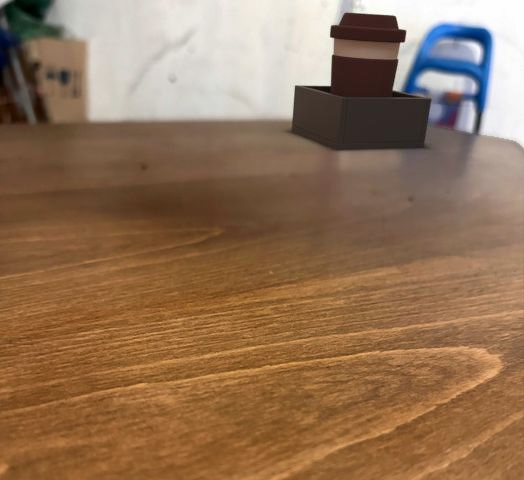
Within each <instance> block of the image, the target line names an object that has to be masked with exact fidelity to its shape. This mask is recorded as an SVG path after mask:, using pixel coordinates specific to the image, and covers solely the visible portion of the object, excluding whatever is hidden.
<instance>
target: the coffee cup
mask: <svg viewBox="0 0 524 480" xmlns="http://www.w3.org/2000/svg"><path fill="white" fill-rule="evenodd" d="M329 30H330V31H329V38H331V39H333V53H332V54H331V66H330V67H331V68H330V69H331V70H330V86H331V93H330V94H334V95H338V96H342V97H377V98H391V96H392V91H393V90H394V86H395V81H396V75H397V70H398V65H399V58H398V56H399V53H400V47H401V44H404V43H406V40H407V39H406V38H407V30H406V29H403V28H402V29H401V28H400V27H399V24H398V19H397V16H396V15H394V14H379V13H377V14H376V13H362V12H348V11H347V12H344V13H343V14H342V17H341V19H340V21H339V23H338V24H331V25H330V29H329Z"/></svg>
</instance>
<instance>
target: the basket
mask: <svg viewBox="0 0 524 480" xmlns="http://www.w3.org/2000/svg"><path fill="white" fill-rule="evenodd" d="M293 91H294V92H293V93H294V94H293V106H292V121H291V133H293V134H294V135H298V136H299V137H302V138H305V139H307V140H311V141H312V142H315V143H318V144H319V145H323V146H325V147H328V148H330V149H333V150H335V151H362V150H397V149H400V150H402V149H424V148H425V142H426V136H427V130H428V124H429V116H430V112H431V105H432V98H430V97H425V96H421V95H417V94H412V93H408V92H404V91H399V90H394V89H393V91H392V96H391V98H377V97H342V96H338V95H334V94H330V93H331V85H305V84H304V85H302V84H299V85H294V90H293Z"/></svg>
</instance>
